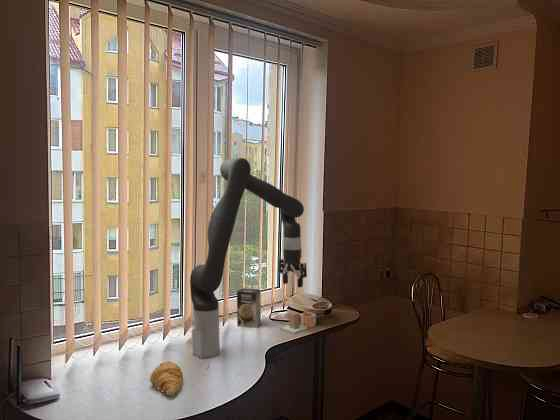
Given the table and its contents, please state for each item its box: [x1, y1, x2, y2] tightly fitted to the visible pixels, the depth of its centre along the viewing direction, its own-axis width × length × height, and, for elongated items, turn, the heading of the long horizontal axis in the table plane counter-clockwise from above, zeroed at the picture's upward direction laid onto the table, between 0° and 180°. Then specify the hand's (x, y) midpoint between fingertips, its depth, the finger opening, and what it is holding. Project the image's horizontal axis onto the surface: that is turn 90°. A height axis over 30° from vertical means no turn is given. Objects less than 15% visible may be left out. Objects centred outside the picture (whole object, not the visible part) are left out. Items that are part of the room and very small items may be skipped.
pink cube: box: [300, 311, 317, 328], centre depth 205 cm, size 6×6×5 cm
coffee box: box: [236, 287, 262, 329], centre depth 205 cm, size 9×6×16 cm
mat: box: [280, 328, 309, 335], centre depth 199 cm, size 9×9×1 cm
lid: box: [281, 311, 308, 335], centre depth 199 cm, size 8×8×7 cm
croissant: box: [149, 361, 184, 397], centre depth 151 cm, size 21×10×8 cm, turn 22°
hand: (292, 285), depth 199 cm, fingers open, 8 cm apart
